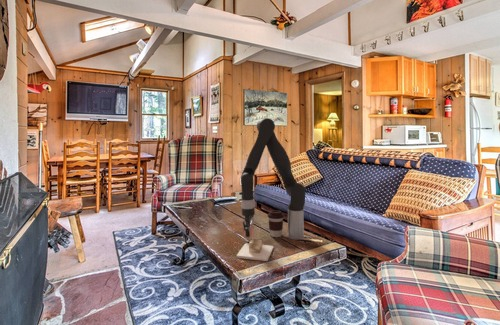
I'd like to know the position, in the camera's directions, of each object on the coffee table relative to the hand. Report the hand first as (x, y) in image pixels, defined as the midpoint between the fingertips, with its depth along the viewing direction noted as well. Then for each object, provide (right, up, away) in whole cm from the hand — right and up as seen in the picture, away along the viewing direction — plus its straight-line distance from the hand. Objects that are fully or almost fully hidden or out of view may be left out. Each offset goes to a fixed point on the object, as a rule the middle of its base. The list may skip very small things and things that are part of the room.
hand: (249, 234), depth 159 cm
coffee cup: (+17, -3, +9) cm, 19 cm away
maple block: (+4, -4, -16) cm, 17 cm away
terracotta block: (0, 0, 0) cm, 1 cm away
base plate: (+4, -5, -16) cm, 17 cm away
